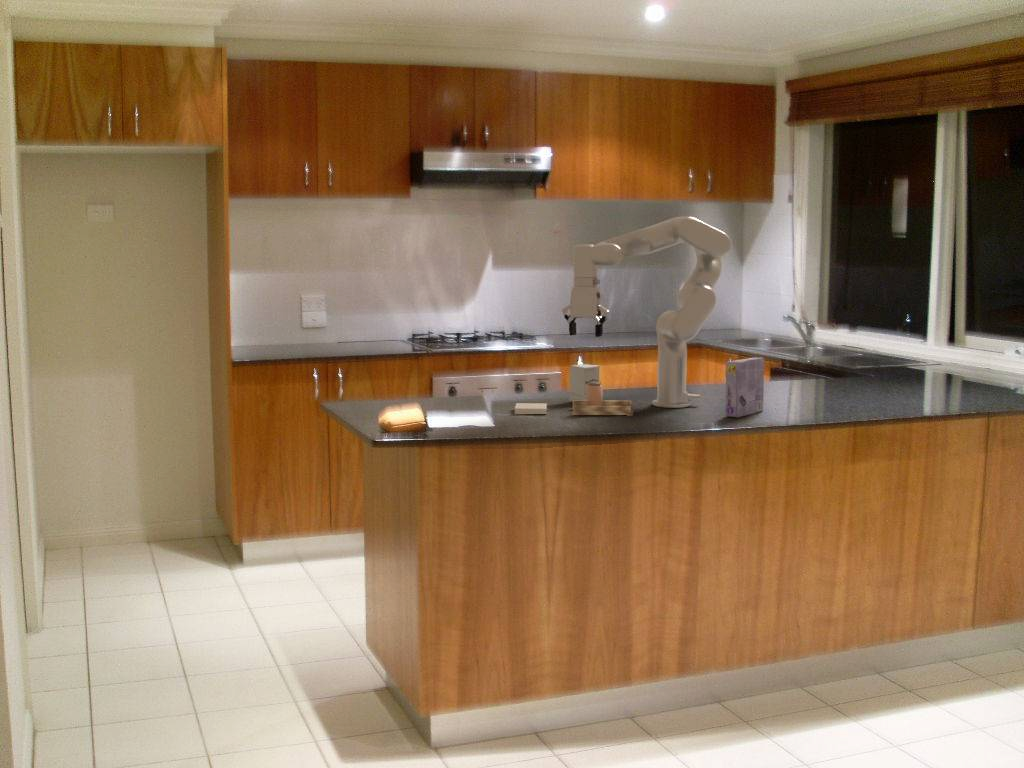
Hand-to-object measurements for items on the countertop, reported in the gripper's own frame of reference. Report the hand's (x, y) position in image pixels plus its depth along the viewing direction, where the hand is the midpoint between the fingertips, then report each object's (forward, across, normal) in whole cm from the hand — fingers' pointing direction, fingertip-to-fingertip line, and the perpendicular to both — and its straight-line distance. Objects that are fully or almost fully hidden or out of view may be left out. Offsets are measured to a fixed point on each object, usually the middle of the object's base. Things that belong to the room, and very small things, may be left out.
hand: (585, 335), depth 355 cm
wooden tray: (+24, -8, +3) cm, 26 cm away
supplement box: (+24, +8, -11) cm, 28 cm away
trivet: (+24, +12, +15) cm, 30 cm away
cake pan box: (+25, -46, -21) cm, 57 cm away
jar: (+24, -6, +4) cm, 25 cm away
